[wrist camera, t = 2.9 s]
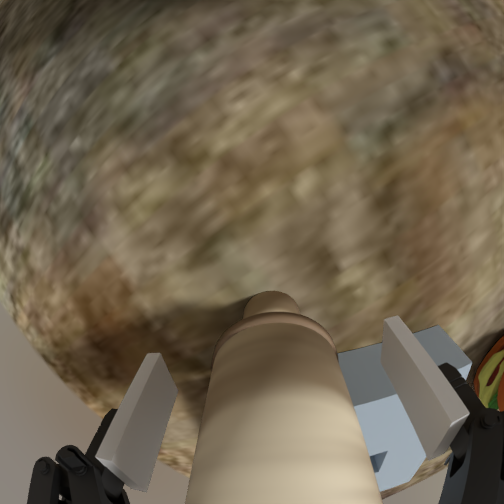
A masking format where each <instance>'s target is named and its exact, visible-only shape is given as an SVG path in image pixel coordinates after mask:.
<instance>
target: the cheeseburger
mask: <svg viewBox="0 0 504 504" xmlns="http://www.w3.org/2000/svg"><path fill="white" fill-rule="evenodd" d="M474 389H475V392H476V394H477V396H478V397H479V398H480V399H481V402H482V404H483V405H484V406H485V407H486V408H494V409H496V410H498V409H499V410H500V412H501V411H504V336H503V337H502V338H501V339H500V340H499V341H498V342H497V343H496V344H495V345H494V346H493V348H492V349H491V350H490V351H489V352H488V354H487V355H486V357H485V358H484V360H483V361H482V363H481V364H480V366H479V368H478V369H477V372H476V376H475V379H474Z"/></svg>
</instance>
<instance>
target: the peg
mask: <svg viewBox="0 0 504 504" xmlns="http://www.w3.org/2000/svg"><path fill="white" fill-rule="evenodd" d="M211 372H212V373H211V378H210V383H209V387H208V392H207V397H206V402H205V406H204V411H203V416H202V421H201V426H200V430H199V435H198V440H197V445H196V450H195V455H194V460H193V465H192V470H191V475H190V480H189V485H188V491H187V496H186V501H185V504H383V502H382V499H381V495H380V491H379V487H378V484H377V480H376V477H375V473H374V470H373V466H372V463H371V460H370V456H369V453H368V450H367V446H366V443H365V440H364V437H363V434H362V430H361V427H360V424H359V421H358V418H357V415H356V412H355V409H354V406H353V403H352V400H351V397H350V394H349V391H348V388H347V385H346V382H345V380H344V377H343V374H342V371H341V368H340V365H339V360H338V354H337V351H336V348H335V345H334V343H333V340H332V338H331V336H330V335H329V333H328V332H327V331H326V330H325V329H324V328H323V327H322V326H321V325H320V324H319V323H317V322H316V321H314V320H312V319H310V318H308V317H306V316H303V315H300V312H299V309H298V306H297V304H296V302H295V301H294V300H293V299H292V298H291V297H290V296H289V295H287V294H285V293H282V292H279V291H266V292H262V293H259V294H257V295H256V296H254V297H253V298H252V299H250V301H249V302H248V303H247V305H246V307H245V309H244V314H243V320H240V321H239V322H237V323H235V324H234V325H232V326H231V327H230V328H229V329H227V330H226V331H225V333H224V334H223V335H222V336H221V337H220V339H219V340H218V342H217V344H216V347H215V350H214V354H213V358H212V364H211Z"/></svg>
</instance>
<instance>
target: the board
mask: <svg viewBox="0 0 504 504" xmlns="http://www.w3.org/2000/svg"><path fill="white" fill-rule="evenodd" d="M413 335H414V336H415V337H416V339H417V340H418V341H419V343H420V344H421V345H422V346H423V348H424V349H425V350H426V352H427V353H428V354H429V356H430V357H431V358H432V360H433V361H434V362H435V364H436V365H437V366H439V365H441V364H444V363H446V362H447V363H449V364H450V365H452V366H454V367H455V368H456V369H457V370H458V371H459V372H460V374H461V375H462V377H463V378H464V379H465V380H466V378H467V376H468V373H469V370H470V368H471V365H472V361H471V360H470V359H469V358H468V357H467V356H466V354H465V353H464V352H463V351H462V350H461V349H460V348H459V347H458V345H457V344H456V343H455V342H454V341H453V340H452V339H451V338H450V337H449V336H448V334H447V333H446V332H445V331H444V330H443V329H442V328H441V327H440V326H439V325H437V326H434V327H431V328H428V329H425V330H422V331H419V332H416V333H413ZM381 351H382V343H379V344H375V345H371V346H367V347H363V348H359V349H355V350H351V351H347V352H342V353H338V360H339V365H340V368H341V371H342V374H343V377H344V380H345V382H346V385H347V388H348V391H349V394H350V397H351V400H352V403H353V406H354V409H355V412H356V415H357V418H358V421H359V424H360V427H361V430H362V434H363V437H364V440H365V443H366V446H367V450H368V453H369V456H370V460H371V463H372V466H373V470H374V473H375V477H376V480H377V484H378V487H379V491H383V490H386V489H389V488H392V487H395V486H398V485H400V484H403V483H406V482H408V481H410V479H411V478H412V477H413V475H414V474H415V473H416V471H417V470H418V468H419V467H420V465H421V464H422V462H423V461H424V459H425V458H426V454H425V451H424V449H423V447H422V445H421V442H420V440H419V438H418V436H417V434H416V432H415V429H414V427H413V425H412V423H411V421H410V419H409V417H408V415H407V413H406V411H405V409H404V407H403V405H402V403H401V401H400V399H399V397H398V395H397V393H396V391H395V389H394V387H393V385H392V383H391V381H390V379H389V377H388V375H387V373H386V372H385V370H384V368H383V366H382V364H381V362H380V360H381Z"/></svg>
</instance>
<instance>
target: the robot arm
mask: <svg viewBox="0 0 504 504" xmlns="http://www.w3.org/2000/svg"><path fill="white" fill-rule="evenodd" d="M380 362H381V364H382V366H383V368H384V370H385V372H386V373H387V375H388V377H389V379H390V381H391V383H392V385H393V387H394V389H395V391H396V393H397V395H398V397H399V399H400V401H401V403H402V405H403V407H404V409H405V411H406V413H407V415H408V417H409V419H410V421H411V423H412V425H413V427H414V429H415V432H416V434H417V436H418V438H419V440H420V442H421V445H422V447H423V449H424V451H425V454H426V456H427V458H428V461H429V460H431V459H433V458H436V457H438V456H440V455H442V454H444V453H445V452H446V451H447V449H448V448H449V446H450V447H451V449H452V451H453V452H452V453H451V454H450V456H449V457H448V458H447V460H446V461H445V464H444V465H447V464H448V462H449V465H448V470H447V474H446V479H445V483H444V486H443V490H442V494H441V497H440V500H439V504H504V411H501V412H499V411H497V410H496V409H494V408H486V407H485V406H484V405H483V404H482V402H481V401H480V399H479V398H478V397H477V395H476V394H475V392H474V391H473V390H472V388H471V387H470V386H469V384H467V382H466V380H465V379H464V378H463V377H462V375H461V374H460V372H459V371H458V370H457V369H456V368H455V367H454V366H452V365H450V364H449V363H447V362H446V363H444V364H441V365H439V366H437V365H436V364H435V362H434V361H433V360H432V358H431V357H430V356H429V354H428V353H427V352H426V350H425V349H424V348H423V346H422V345H421V344H420V343H419V341H418V340H417V339H416V337H415V336H414V335H413V334H412V332H411V331H410V330H409V329H408V327H407V326H406V325H405V324H404V322H403V321H402V320H401V319H400V317H399V316H394V317H390V318H387V319H384V328H383V340H382V351H381V360H380ZM177 393H178V389H177V387H176V385H175V383H174V381H173V379H172V377H171V375H170V373H169V371H168V368H167V366H166V364H165V362H164V360H163V357H162V355H161V353H147V355H146V357H145V358H144V360H143V362H142V364H141V366H140V368H139V370H138V372H137V373H136V375H135V377H134V379H133V381H132V383H131V385H130V387H129V389H128V391H127V393H126V395H125V397H124V398H123V400H122V402H121V404H120V406H119V408H118V409H111V410H110V411H109V412H108V413H107V414H106V415H105V417H104V418H103V420H102V422H101V426H99V428H98V430H97V432H96V434H95V436H94V438H93V440H92V442H91V444H90V446H89V448H88V450H87V452H86V454H85V455H84V454H83V453H82V452H81V451H80V450H79V449H78V448H77V447H76V446H73V445H67V446H64V447H62V448H61V449H60V450H59V451H58V453H57V454H56V458H55V460H56V461H57V462H58V463H59V464H56V463H55V462H54V461H53V460H52V459H51V458H49V457H42V458H40V459H38V460H37V461H36V463H35V465H34V468H33V473H32V478H31V483H30V488H29V495H28V501H27V504H130V502H129V499H128V496H127V494H126V492H125V490H124V489H123V486H124V483H125V484H126V485H127V486H129V487H130V488H131V489H134V490H139V491H143V492H147V490H148V486H149V483H150V480H151V476H152V473H153V469H154V466H155V463H156V460H157V456H158V453H159V450H160V446H161V443H162V440H163V437H164V434H165V430H166V427H167V424H168V421H169V418H170V415H171V411H172V408H173V405H174V402H175V399H176V396H177ZM59 494H60V495H61V496H62V500H59Z"/></svg>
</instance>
